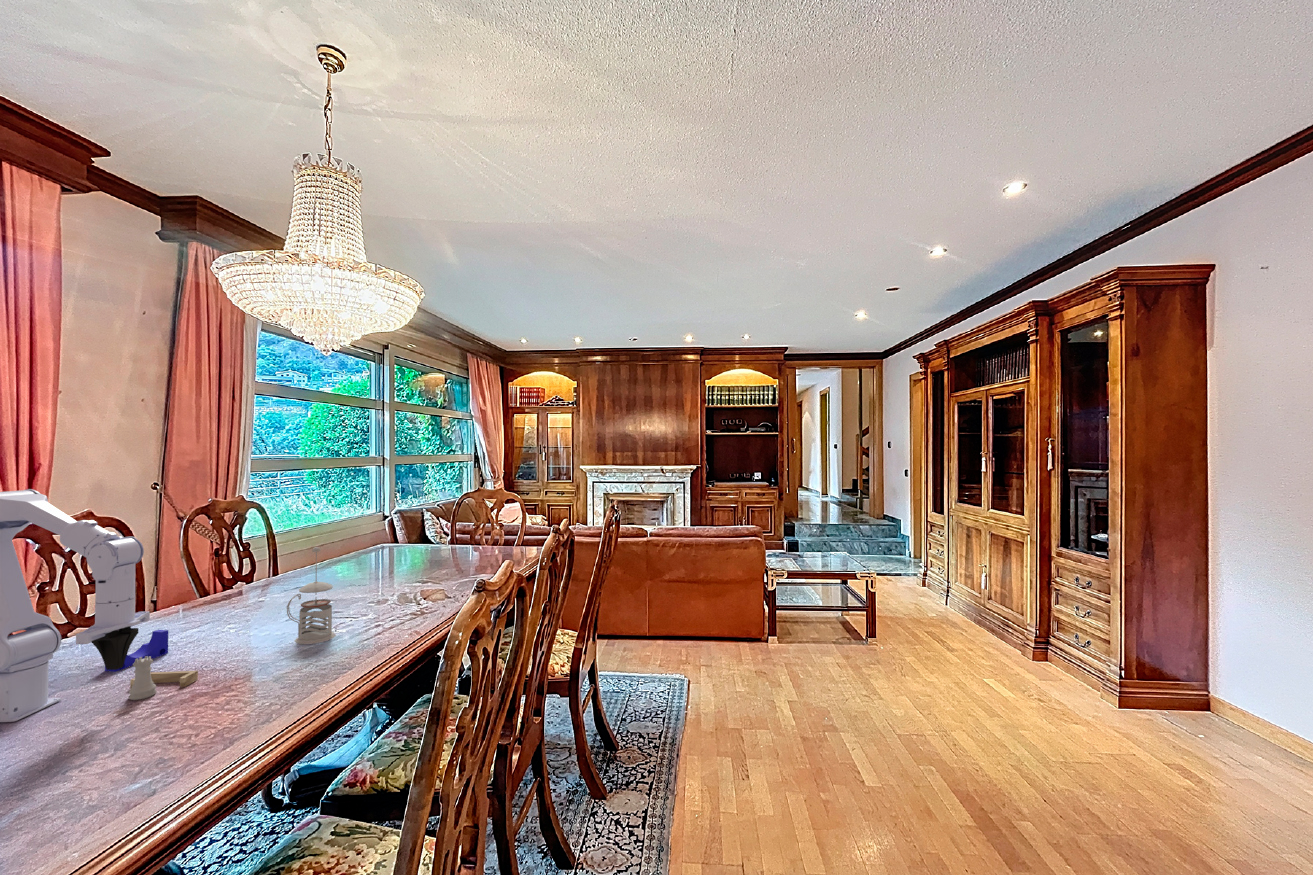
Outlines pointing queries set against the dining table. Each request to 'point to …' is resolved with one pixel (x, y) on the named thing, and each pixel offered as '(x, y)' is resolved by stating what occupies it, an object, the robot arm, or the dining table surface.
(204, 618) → the dining table surface
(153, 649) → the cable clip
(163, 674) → the wooden bracket
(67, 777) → the dining table surface
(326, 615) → the french press
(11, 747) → the dining table surface
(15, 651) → the robot arm
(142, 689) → the rook chess piece
